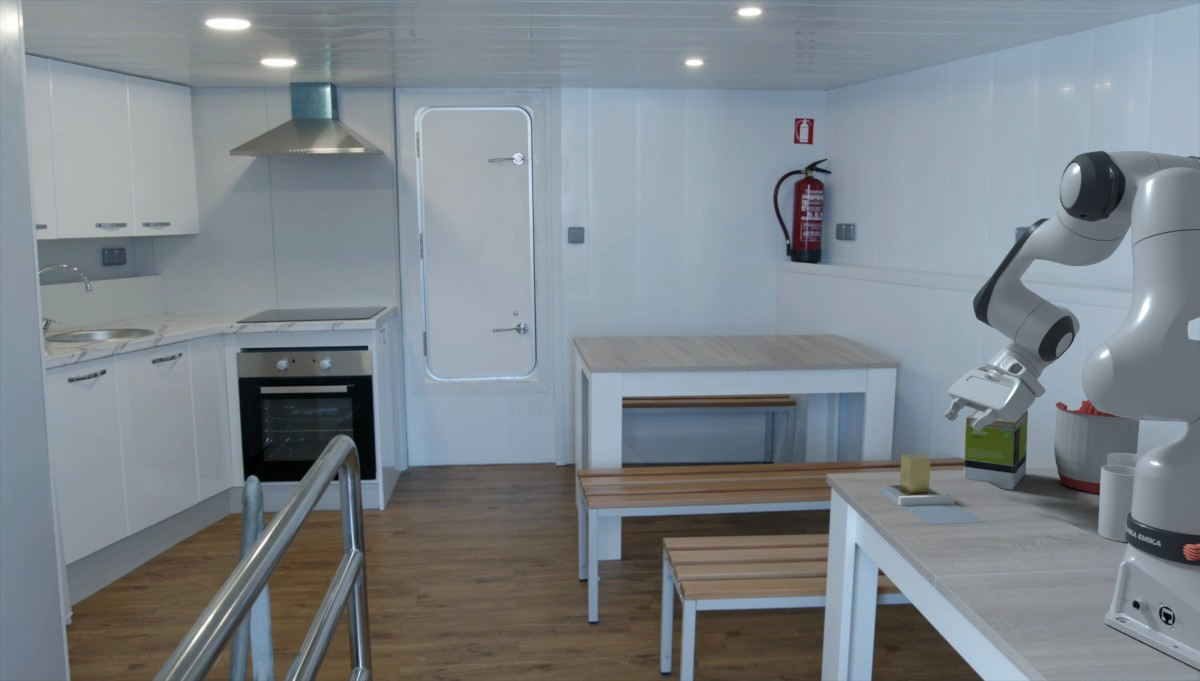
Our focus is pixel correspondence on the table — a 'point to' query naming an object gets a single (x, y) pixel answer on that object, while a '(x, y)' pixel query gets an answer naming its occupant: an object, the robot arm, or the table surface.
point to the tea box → (996, 451)
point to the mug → (1115, 501)
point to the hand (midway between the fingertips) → (960, 423)
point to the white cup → (1123, 459)
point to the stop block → (915, 474)
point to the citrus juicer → (1090, 443)
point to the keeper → (896, 492)
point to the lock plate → (934, 508)
